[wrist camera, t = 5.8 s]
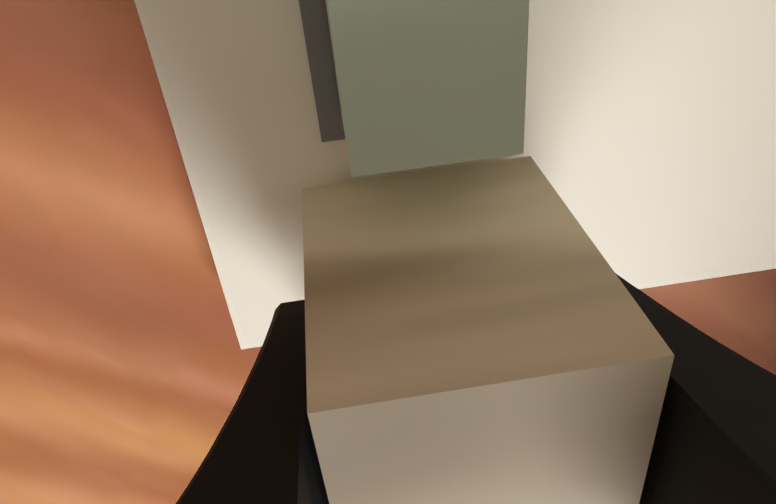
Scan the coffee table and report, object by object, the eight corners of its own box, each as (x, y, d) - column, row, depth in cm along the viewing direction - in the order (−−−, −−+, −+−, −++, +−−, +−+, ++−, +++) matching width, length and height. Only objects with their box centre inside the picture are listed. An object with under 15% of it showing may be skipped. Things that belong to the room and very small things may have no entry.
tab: (482, 95, 10) (522, 153, 9) (341, 114, 10) (352, 177, 8) (481, -109, 9) (532, -92, 7) (312, -89, 9) (318, -66, 7)
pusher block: (523, 327, 13) (626, 554, 9) (334, 356, 13) (353, 602, 9) (530, 155, 11) (673, 355, 7) (302, 188, 11) (307, 413, 7)
